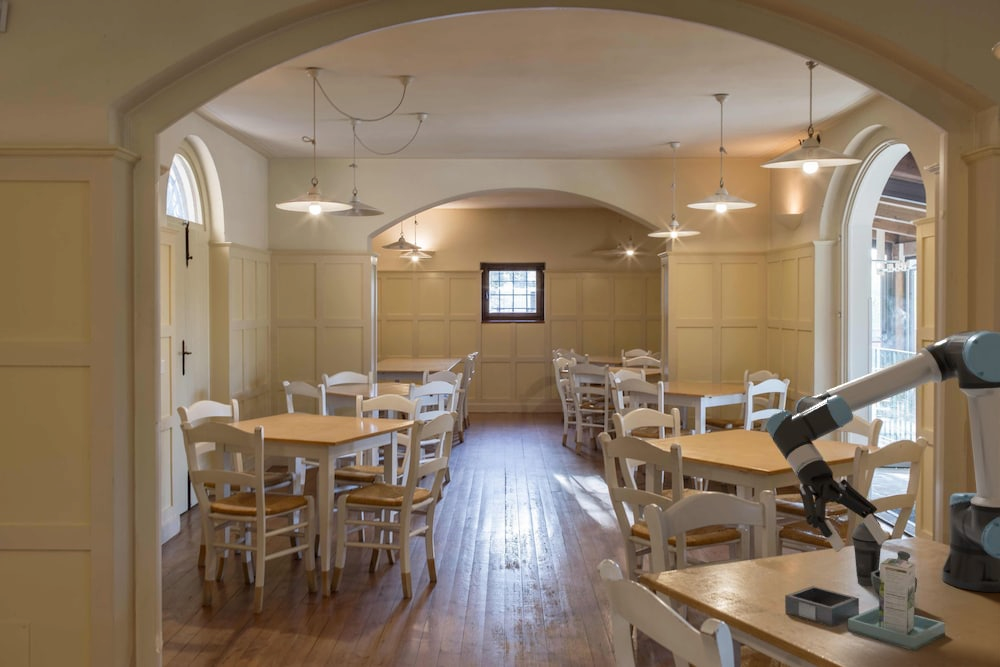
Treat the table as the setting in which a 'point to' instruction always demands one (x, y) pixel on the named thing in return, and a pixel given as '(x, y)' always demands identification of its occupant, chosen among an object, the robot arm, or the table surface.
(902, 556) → the mortar and pestle
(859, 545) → the beverage cup
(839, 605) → the square open bin
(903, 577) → the syrup box
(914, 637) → the tray
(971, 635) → the table surface
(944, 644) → the table surface
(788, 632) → the table surface
